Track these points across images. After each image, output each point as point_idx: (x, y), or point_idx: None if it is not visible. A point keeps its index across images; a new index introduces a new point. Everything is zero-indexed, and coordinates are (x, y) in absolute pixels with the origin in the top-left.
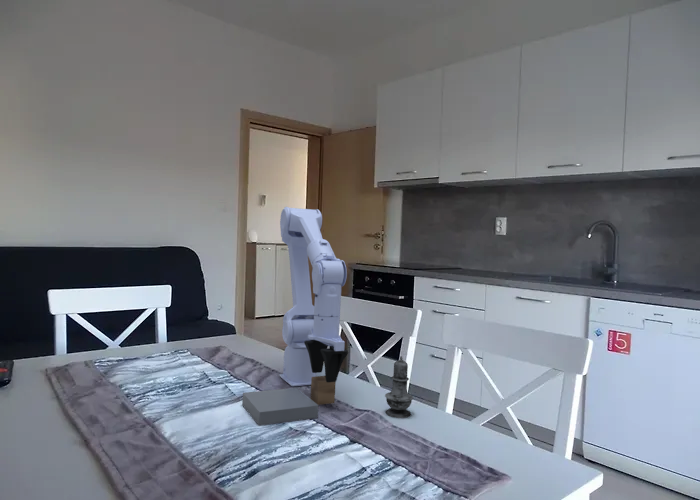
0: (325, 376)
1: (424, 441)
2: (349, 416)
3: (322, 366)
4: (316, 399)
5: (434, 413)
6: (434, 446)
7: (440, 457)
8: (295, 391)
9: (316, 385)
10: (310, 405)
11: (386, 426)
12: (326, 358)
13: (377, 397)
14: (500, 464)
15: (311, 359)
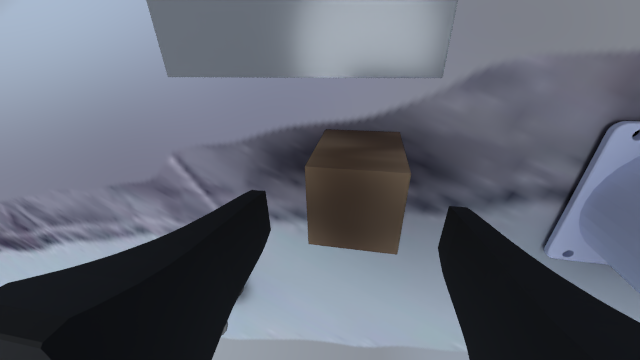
0: (250, 199)
1: (72, 232)
2: (206, 173)
3: (446, 277)
4: (336, 134)
5: None
6: (53, 233)
7: (10, 213)
8: (380, 43)
9: (336, 157)
10: (165, 38)
11: (139, 216)
12: (71, 267)
13: (331, 303)
14: (13, 266)
15: (493, 257)
